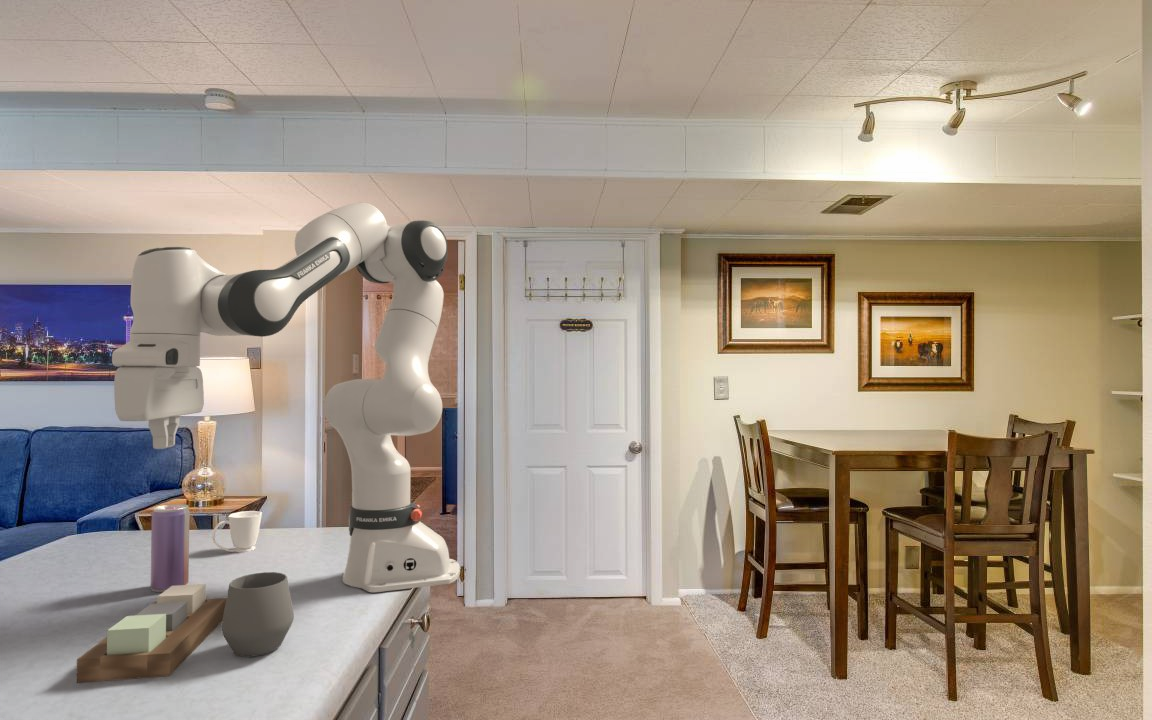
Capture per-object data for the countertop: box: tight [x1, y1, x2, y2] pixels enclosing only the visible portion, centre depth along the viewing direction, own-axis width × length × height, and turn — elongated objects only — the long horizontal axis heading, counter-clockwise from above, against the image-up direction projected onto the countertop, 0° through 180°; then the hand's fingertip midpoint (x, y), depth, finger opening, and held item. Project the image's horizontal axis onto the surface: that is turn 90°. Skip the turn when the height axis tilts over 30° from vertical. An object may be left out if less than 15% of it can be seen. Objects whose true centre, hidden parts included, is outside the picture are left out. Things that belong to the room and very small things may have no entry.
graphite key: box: [134, 602, 187, 632], centre depth 94 cm, size 5×5×4 cm
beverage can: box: [150, 503, 191, 593], centre depth 119 cm, size 6×6×15 cm
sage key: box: [106, 614, 166, 655], centre depth 87 cm, size 5×5×4 cm
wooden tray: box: [76, 597, 227, 683], centre depth 94 cm, size 11×21×3 cm, turn 10°
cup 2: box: [220, 571, 295, 658], centre depth 93 cm, size 10×9×10 cm
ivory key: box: [156, 583, 207, 613], centre depth 101 cm, size 5×5×4 cm
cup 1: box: [212, 510, 263, 553], centre depth 143 cm, size 7×10×8 cm
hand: (164, 447), depth 94 cm, fingers closed
